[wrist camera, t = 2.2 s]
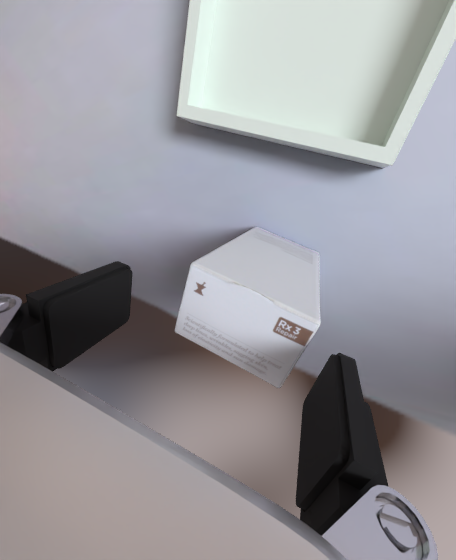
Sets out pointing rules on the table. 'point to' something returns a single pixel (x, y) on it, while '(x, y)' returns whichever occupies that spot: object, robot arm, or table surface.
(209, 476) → the robot arm
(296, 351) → the skincare box
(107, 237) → the table surface
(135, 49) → the table surface
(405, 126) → the sage tray
